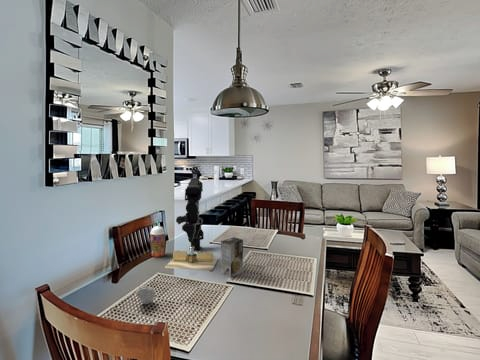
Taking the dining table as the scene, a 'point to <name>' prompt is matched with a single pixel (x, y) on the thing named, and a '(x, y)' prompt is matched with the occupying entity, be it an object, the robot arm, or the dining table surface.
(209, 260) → the loose leaf
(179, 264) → the mount board
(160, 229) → the smoothie
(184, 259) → the hinge base
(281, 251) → the dining table surface
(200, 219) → the robot arm
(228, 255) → the coffee box
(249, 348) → the dining table surface
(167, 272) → the dining table surface
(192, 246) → the pin
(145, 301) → the grey head sculpture
